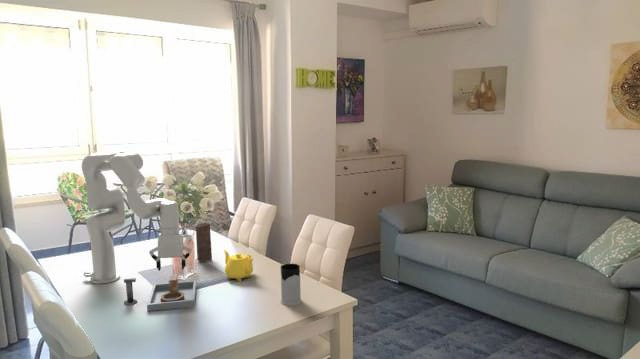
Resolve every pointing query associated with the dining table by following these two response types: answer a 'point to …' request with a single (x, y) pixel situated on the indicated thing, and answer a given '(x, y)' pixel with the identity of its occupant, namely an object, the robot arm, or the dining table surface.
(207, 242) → the candle
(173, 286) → the ring
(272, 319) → the dining table surface
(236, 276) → the teapot
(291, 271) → the glass holder
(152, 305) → the tray
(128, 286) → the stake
